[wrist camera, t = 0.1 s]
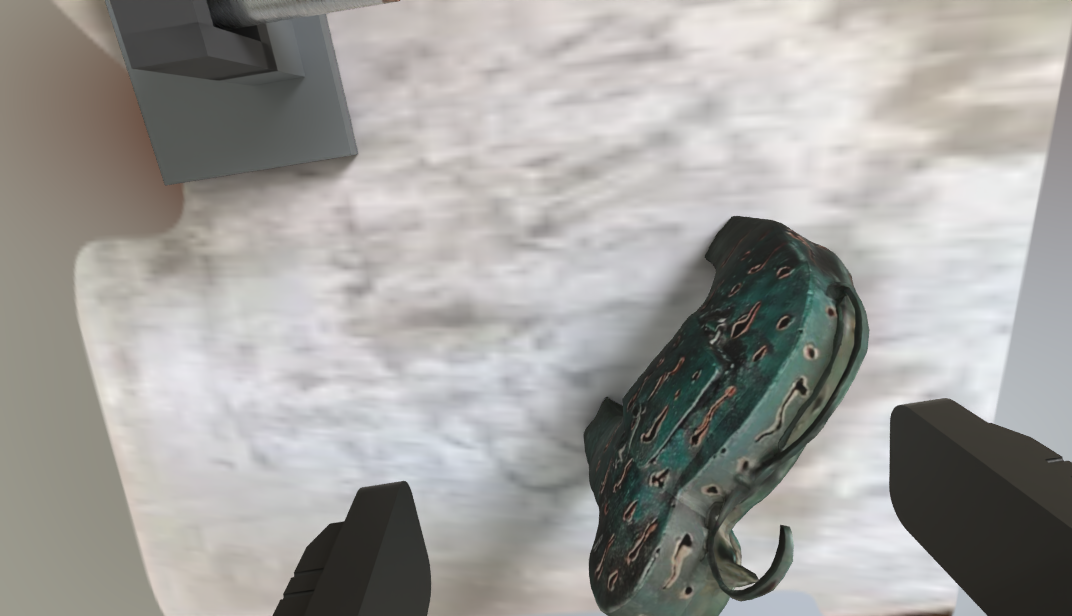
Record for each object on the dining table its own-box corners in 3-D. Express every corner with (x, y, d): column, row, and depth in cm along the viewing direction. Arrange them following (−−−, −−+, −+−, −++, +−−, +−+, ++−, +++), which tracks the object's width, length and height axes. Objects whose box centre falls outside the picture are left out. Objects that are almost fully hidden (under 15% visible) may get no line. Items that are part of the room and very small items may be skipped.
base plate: (81, -122, 32) (-5, -170, 27) (285, -158, 32) (239, -213, 27) (179, 183, 37) (122, 193, 32) (358, 153, 37) (330, 159, 31)
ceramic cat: (623, 479, 44) (702, 759, 24) (545, 438, 42) (563, 697, 23) (794, 240, 39) (1058, 353, 20) (710, 187, 38) (904, 253, 19)
